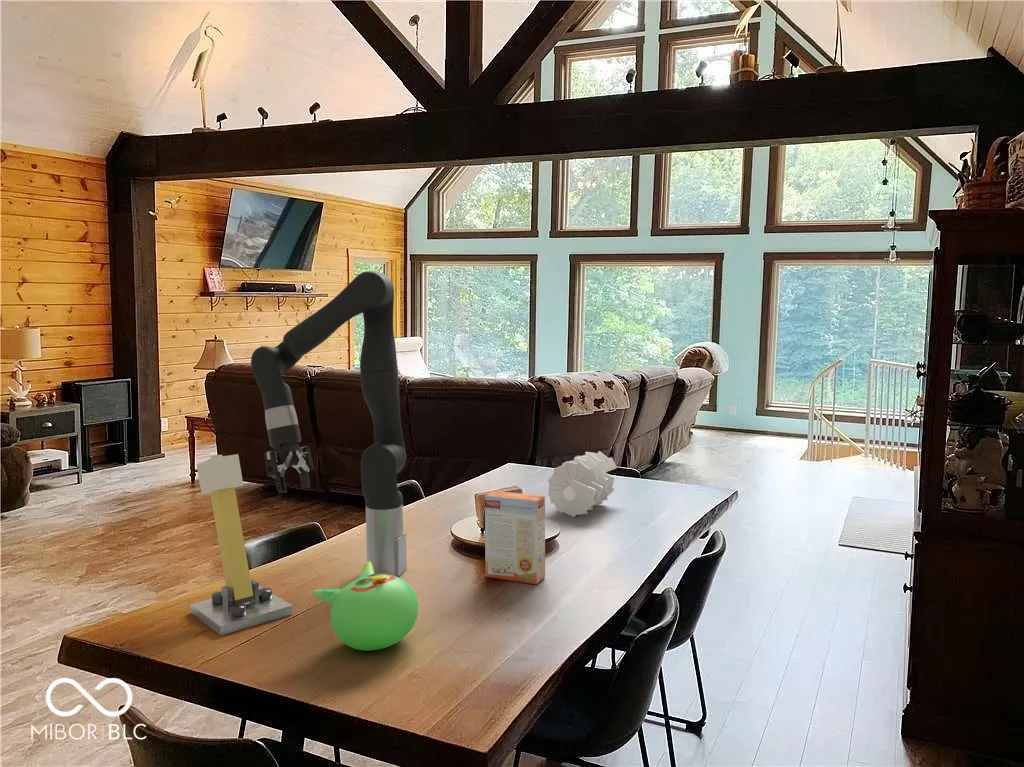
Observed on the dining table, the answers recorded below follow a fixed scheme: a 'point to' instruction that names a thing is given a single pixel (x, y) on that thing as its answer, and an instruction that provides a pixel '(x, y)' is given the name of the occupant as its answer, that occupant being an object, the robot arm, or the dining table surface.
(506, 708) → the dining table surface
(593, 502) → the spiral staircase
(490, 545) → the cracker box
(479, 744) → the dining table surface
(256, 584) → the tripod base plate
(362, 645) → the green horned blob
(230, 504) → the post
